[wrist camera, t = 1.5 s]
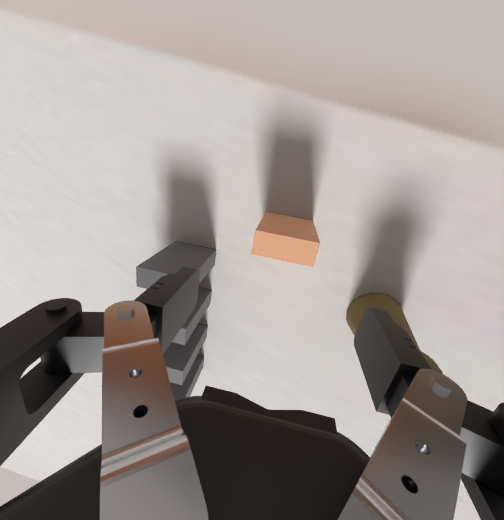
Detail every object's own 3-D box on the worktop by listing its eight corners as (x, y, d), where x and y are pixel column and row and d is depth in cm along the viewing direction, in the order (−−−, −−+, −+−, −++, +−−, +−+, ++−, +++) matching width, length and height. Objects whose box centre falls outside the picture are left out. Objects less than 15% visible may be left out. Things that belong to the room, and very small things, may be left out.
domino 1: (216, 249, 29) (189, 278, 22) (214, 265, 30) (188, 298, 22) (175, 241, 30) (136, 266, 22) (175, 256, 30) (136, 286, 23)
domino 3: (207, 325, 33) (182, 371, 26) (206, 337, 34) (181, 385, 27) (172, 317, 34) (138, 359, 26) (171, 328, 34) (138, 373, 27)
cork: (337, 306, 29) (359, 381, 19) (388, 284, 27) (444, 355, 17) (359, 344, 30) (392, 433, 20) (410, 325, 29) (474, 414, 18)
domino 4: (204, 356, 35) (180, 407, 28) (202, 367, 36) (179, 419, 29) (171, 348, 36) (138, 396, 28) (170, 358, 37) (139, 408, 29)
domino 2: (211, 290, 31) (185, 329, 24) (210, 303, 32) (184, 345, 25) (174, 281, 32) (137, 317, 24) (173, 295, 32) (137, 333, 25)
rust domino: (313, 220, 26) (320, 243, 19) (308, 238, 27) (313, 266, 19) (266, 211, 27) (255, 230, 19) (263, 229, 27) (251, 253, 20)
